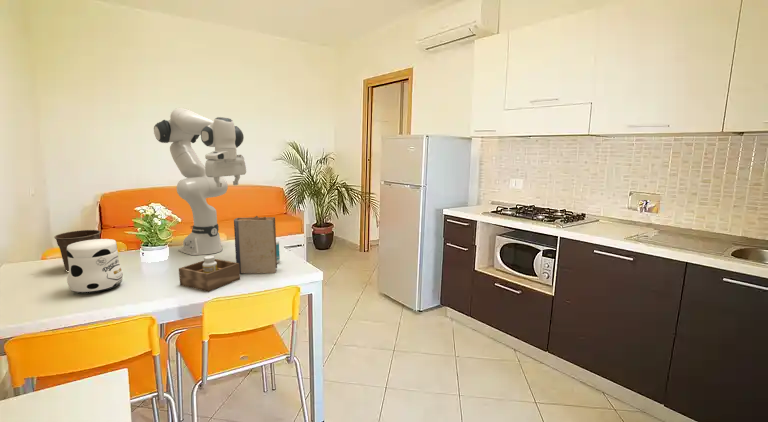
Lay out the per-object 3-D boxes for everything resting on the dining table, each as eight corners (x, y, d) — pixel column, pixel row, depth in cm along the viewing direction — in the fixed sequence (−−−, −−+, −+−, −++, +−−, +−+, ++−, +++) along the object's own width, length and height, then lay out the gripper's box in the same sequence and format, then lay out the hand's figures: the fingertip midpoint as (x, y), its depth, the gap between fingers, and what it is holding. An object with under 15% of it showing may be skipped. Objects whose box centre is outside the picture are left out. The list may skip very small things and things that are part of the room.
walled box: (180, 285, 159) (178, 268, 158) (212, 273, 173) (211, 258, 172) (208, 291, 152) (207, 274, 151) (240, 279, 166) (239, 263, 165)
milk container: (128, 289, 154) (123, 244, 151) (71, 300, 142) (65, 252, 139) (118, 277, 166) (114, 236, 163) (66, 287, 155) (60, 243, 151)
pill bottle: (282, 260, 193) (281, 233, 190) (276, 265, 185) (275, 237, 183) (267, 260, 193) (266, 233, 191) (261, 264, 186) (259, 236, 184)
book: (277, 268, 181) (275, 214, 177) (275, 273, 174) (273, 217, 170) (238, 269, 179) (235, 215, 174) (235, 274, 172) (232, 218, 168)
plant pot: (50, 275, 168) (45, 238, 165) (72, 264, 183) (67, 230, 181) (93, 273, 171) (89, 237, 168) (111, 262, 186) (107, 229, 184)
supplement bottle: (212, 277, 166) (210, 254, 164) (220, 279, 163) (219, 256, 161) (200, 280, 161) (199, 257, 159) (209, 283, 158) (207, 259, 157)
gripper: (238, 154, 186) (239, 183, 188) (201, 155, 168) (204, 187, 170) (248, 154, 183) (250, 184, 186) (212, 155, 165) (214, 188, 167)
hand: (227, 186), depth 178 cm, fingers open, 8 cm apart
